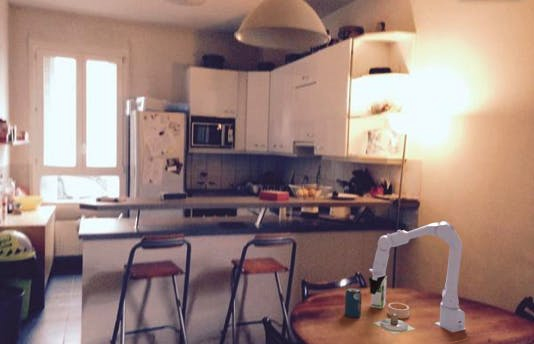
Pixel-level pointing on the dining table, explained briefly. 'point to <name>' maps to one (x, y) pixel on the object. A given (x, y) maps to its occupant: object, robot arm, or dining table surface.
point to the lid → (394, 323)
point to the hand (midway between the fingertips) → (374, 291)
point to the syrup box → (379, 296)
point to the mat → (394, 331)
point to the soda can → (353, 303)
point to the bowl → (398, 309)
